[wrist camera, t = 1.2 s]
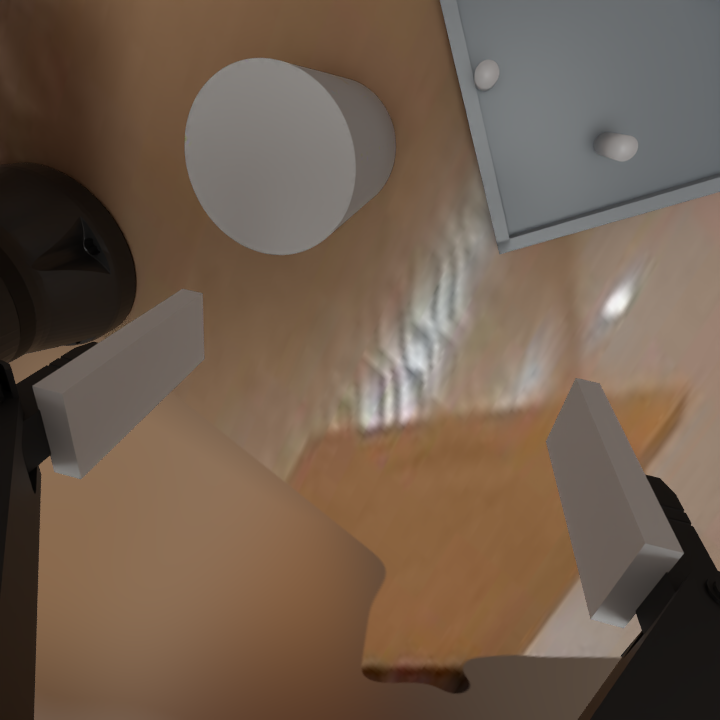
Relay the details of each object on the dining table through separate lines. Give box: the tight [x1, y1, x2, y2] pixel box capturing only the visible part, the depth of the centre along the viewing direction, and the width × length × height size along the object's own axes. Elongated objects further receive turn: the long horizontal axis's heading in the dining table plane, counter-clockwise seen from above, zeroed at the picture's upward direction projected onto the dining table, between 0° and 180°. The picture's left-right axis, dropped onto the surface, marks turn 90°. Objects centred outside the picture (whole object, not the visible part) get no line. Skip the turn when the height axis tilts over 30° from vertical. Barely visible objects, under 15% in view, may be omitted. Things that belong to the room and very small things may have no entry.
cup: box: [185, 58, 396, 255], centre depth 26 cm, size 8×8×12 cm
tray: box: [440, 0, 720, 254], centre depth 23 cm, size 20×14×5 cm
